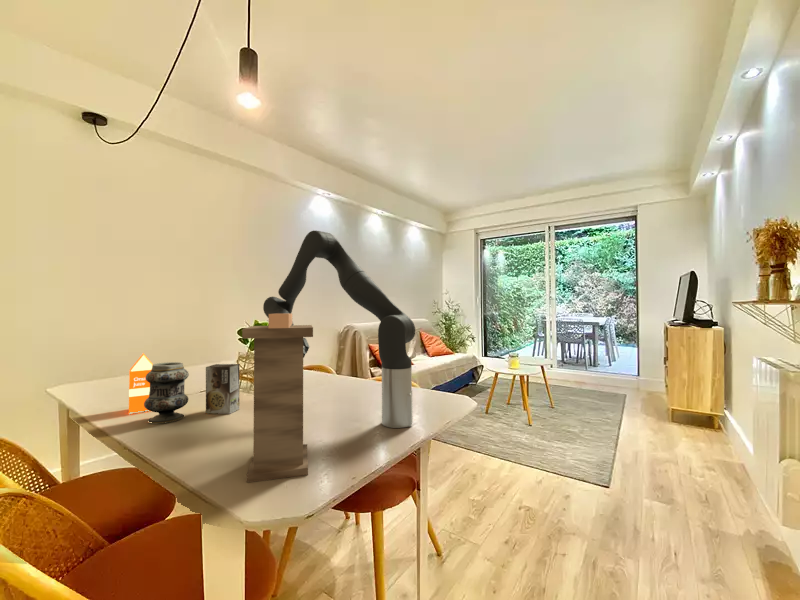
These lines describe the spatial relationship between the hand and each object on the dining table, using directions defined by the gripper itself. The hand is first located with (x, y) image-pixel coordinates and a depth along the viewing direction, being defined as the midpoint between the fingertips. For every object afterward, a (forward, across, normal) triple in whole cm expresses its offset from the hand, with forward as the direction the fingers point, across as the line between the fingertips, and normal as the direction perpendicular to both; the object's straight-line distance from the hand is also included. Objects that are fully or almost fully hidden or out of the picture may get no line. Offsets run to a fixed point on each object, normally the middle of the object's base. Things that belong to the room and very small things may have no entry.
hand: (289, 354), depth 110 cm
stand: (+35, +4, -8) cm, 36 cm away
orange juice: (-27, +32, -48) cm, 64 cm away
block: (+16, +10, +17) cm, 25 cm away
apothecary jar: (-11, +25, -38) cm, 47 cm away
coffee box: (-13, +9, -35) cm, 39 cm away
